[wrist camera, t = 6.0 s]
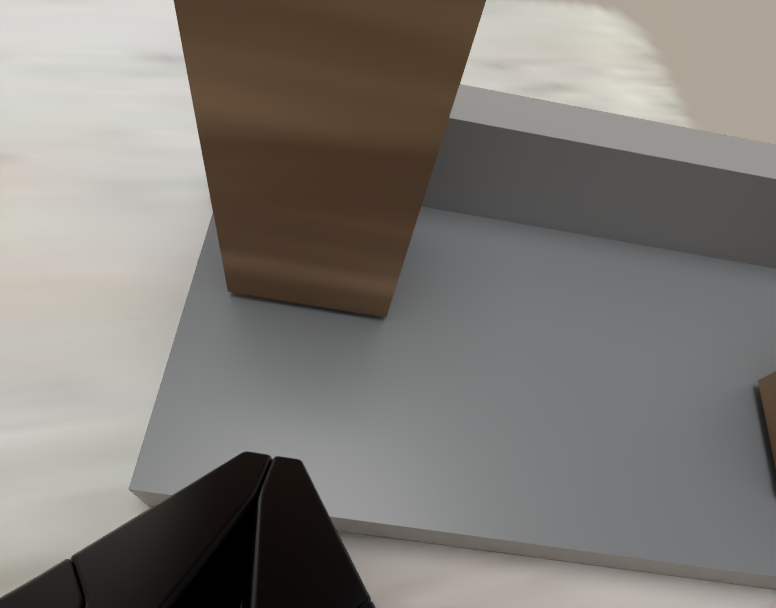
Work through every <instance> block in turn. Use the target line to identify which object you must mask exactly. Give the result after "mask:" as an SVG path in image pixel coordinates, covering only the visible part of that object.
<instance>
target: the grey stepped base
mask: <svg viewBox="0 0 776 608" xmlns="http://www.w3.org/2000/svg"><path fill="white" fill-rule="evenodd" d="M775 371H776V145H774V144H769V143H763V142H758V141H753V140H748V139H742V138H737V137H732V136H727V135H722V134H717V133H711V132H706V131H701V130H696V129H691V128H685V127H680V126H675V125H670V124H665V123H659V122H654V121H649V120H644V119H639V118H633V117H628V116H623V115H618V114H612V113H607V112H602V111H597V110H592V109H586V108H581V107H576V106H571V105H566V104H560V103H555V102H550V101H545V100H539V99H534V98H529V97H524V96H519V95H513V94H508V93H503V92H498V91H493V90H487V89H482V88H477V87H472V86H466V85H461V84H460V85H459V88H458V91H457V94H456V98H455V101H454V104H453V107H452V110H451V113H450V117H449V120H448V123H447V126H446V129H445V133H444V136H443V139H442V142H441V145H440V148H439V152H438V155H437V158H436V161H435V164H434V168H433V171H432V174H431V177H430V180H429V184H428V187H427V190H426V193H425V196H424V199H423V203H422V206H421V209H420V212H419V215H418V219H417V222H416V225H415V228H414V231H413V235H412V238H411V241H410V244H409V247H408V250H407V254H406V257H405V260H404V263H403V266H402V270H401V273H400V276H399V279H398V282H397V285H396V289H395V292H394V295H393V298H392V301H391V305H390V308H389V311H388V314H387V317H381V316H375V315H369V314H363V313H356V312H350V311H344V310H338V309H332V308H325V307H319V306H313V305H307V304H301V303H294V302H288V301H282V300H276V299H270V298H263V297H257V296H251V295H245V294H239V293H232V292H228V289H227V284H226V279H225V273H224V268H223V263H222V257H221V252H220V246H219V241H218V236H217V230H216V225H215V219H214V214H212V218H211V221H210V224H209V227H208V231H207V234H206V237H205V240H204V244H203V247H202V250H201V254H200V257H199V260H198V263H197V267H196V270H195V273H194V277H193V280H192V283H191V286H190V290H189V293H188V296H187V300H186V303H185V306H184V309H183V313H182V316H181V319H180V323H179V326H178V329H177V332H176V336H175V339H174V342H173V345H172V349H171V352H170V355H169V359H168V362H167V365H166V368H165V372H164V375H163V378H162V382H161V385H160V388H159V391H158V395H157V398H156V401H155V405H154V408H153V411H152V414H151V418H150V421H149V424H148V428H147V431H146V434H145V437H144V441H143V444H142V447H141V450H140V454H139V457H138V460H137V464H136V467H135V470H134V473H133V477H132V480H131V483H130V487H129V490H130V491H131V492H133V493H134V494H135V495H136V496H137V497H138V498H140V499H141V500H142V501H143V502H144V503H146V504H147V505H148V506H155V505H156V504H158V503H160V502H161V501H163V500H165V499H166V498H168V497H170V496H171V495H173V494H175V493H176V492H178V491H179V490H181V489H183V488H184V487H186V486H188V485H189V484H191V483H193V482H194V481H196V480H198V479H199V478H201V477H202V476H204V475H206V474H207V473H209V472H211V471H212V470H214V469H216V468H217V467H219V466H221V465H222V464H224V463H226V462H227V461H229V460H230V459H232V458H234V457H235V456H237V455H239V454H240V453H242V452H245V451H249V452H255V453H262V454H268V455H270V456H271V458H272V459H273V458H274V457H276V456H281V457H288V458H294V459H299V460H301V461H302V462H303V464H304V466H305V468H306V470H307V472H308V474H309V476H310V478H311V480H312V482H313V484H314V486H315V488H316V490H317V492H318V494H319V496H320V498H321V500H322V502H323V504H324V506H325V508H326V510H327V512H328V514H329V516H330V518H331V520H332V522H333V524H334V526H335V528H336V530H337V531H343V532H350V533H358V534H365V535H373V536H380V537H387V538H395V539H402V540H410V541H417V542H425V543H432V544H440V545H447V546H455V547H462V548H470V549H477V550H485V551H492V552H500V553H507V554H515V555H522V556H530V557H537V558H544V559H552V560H559V561H567V562H574V563H582V564H589V565H597V566H604V567H612V568H619V569H627V570H634V571H642V572H649V573H657V574H664V575H672V576H679V577H687V578H694V579H702V580H709V581H716V582H724V583H731V584H739V585H746V586H754V587H761V588H769V589H776V468H775V463H774V458H773V453H772V448H771V443H770V438H769V433H768V428H767V423H766V418H765V413H764V408H763V403H762V398H761V393H760V388H759V383H758V380H760V379H762V378H764V377H766V376H767V375H769V374H771V373H773V372H775Z"/></svg>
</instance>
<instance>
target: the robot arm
mask: <svg viewBox="0 0 776 608" xmlns="http://www.w3.org/2000/svg"><path fill="white" fill-rule="evenodd" d="M0 608H375V605H374V604H373V602H371V598H370V596H369V594H368V592H367V590H366V588H365V586H364V584H363V582H362V580H361V578H360V576H359V574H358V572H357V570H356V568H355V566H354V564H353V562H352V560H351V558H350V556H349V554H348V552H347V550H346V548H345V546H344V544H343V542H342V540H341V538H340V536H339V534H338V532H337V530H336V528H335V526H334V524H333V522H332V520H331V518H330V516H329V514H328V512H327V510H326V508H325V506H324V504H323V502H322V500H321V498H320V496H319V494H318V492H317V490H316V488H315V486H314V484H313V482H312V480H311V478H310V476H309V474H308V472H307V470H306V468H305V466H304V464H303V462H302V461H301V460H299V459H294V458H288V457H281V456H276V457H274V458H273V459H272V458H271V456H270V455H268V454H262V453H255V452H249V451H245V452H242V453H240V454H239V455H237V456H235V457H234V458H232V459H230V460H229V461H227V462H226V463H224V464H222V465H221V466H219V467H217V468H216V469H214V470H212V471H211V472H209V473H207V474H206V475H204V476H202V477H201V478H199V479H198V480H196V481H194V482H193V483H191V484H189V485H188V486H186V487H184V488H183V489H181V490H179V491H178V492H176V493H175V494H173V495H171V496H170V497H168V498H166V499H165V500H163V501H161V502H160V503H158V504H156V505H155V506H153V507H151V508H150V509H148V510H147V511H145V512H143V513H142V514H140V515H138V516H137V517H135V518H133V519H132V520H130V521H128V522H127V523H125V524H123V525H122V526H120V527H119V528H117V529H115V530H114V531H112V532H110V533H109V534H107V535H105V536H104V537H102V538H100V539H99V540H97V541H96V542H94V543H92V544H91V545H89V546H87V547H86V548H84V549H82V550H81V551H79V552H77V553H76V554H74V555H73V556H72V557H71V559H66V560H64V561H62V562H61V563H59V564H57V565H56V566H54V567H52V568H51V569H49V570H47V571H46V572H44V573H42V574H41V575H39V576H37V577H36V578H34V579H32V580H30V581H29V582H27V583H25V584H23V585H22V586H20V587H18V588H16V589H15V590H13V591H11V592H10V593H8V594H6V595H4V596H3V597H1V598H0Z"/></svg>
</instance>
